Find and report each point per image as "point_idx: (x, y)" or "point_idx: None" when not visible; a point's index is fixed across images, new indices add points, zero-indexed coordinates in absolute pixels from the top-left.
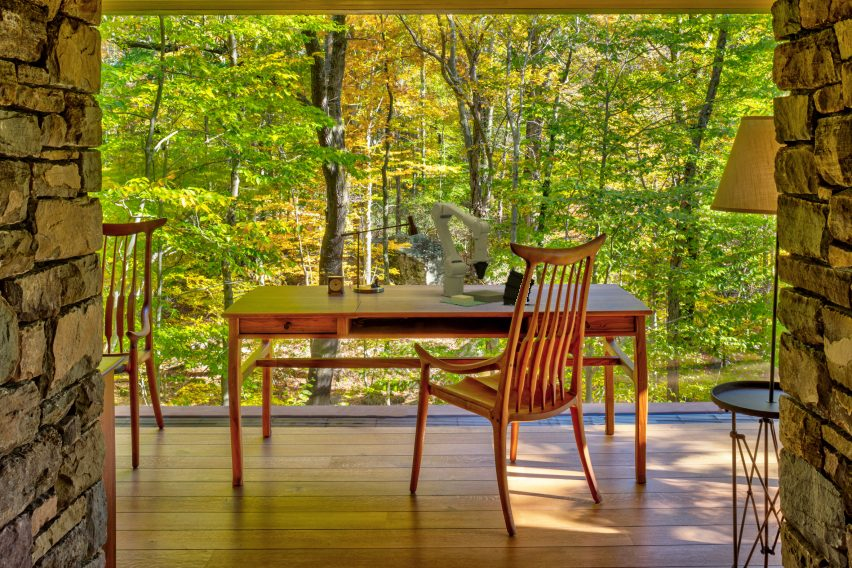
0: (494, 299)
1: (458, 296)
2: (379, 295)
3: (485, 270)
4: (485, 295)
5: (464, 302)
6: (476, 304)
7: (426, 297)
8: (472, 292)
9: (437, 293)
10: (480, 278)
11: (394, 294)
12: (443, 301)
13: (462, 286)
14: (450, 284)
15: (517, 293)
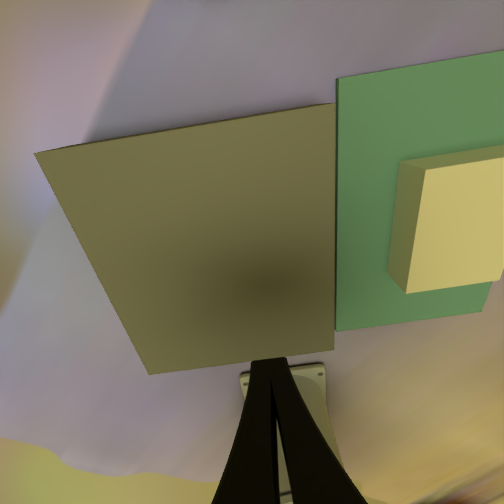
0: (239, 117)
1: (482, 245)
2: (472, 477)
3: (229, 477)
4: (305, 170)
5: (500, 147)
6: (464, 57)
7: (402, 410)
8: (281, 330)
9: None
10: (289, 370)
11: (423, 477)
12: (484, 288)
13: (277, 425)
14: (339, 453)
15: None
